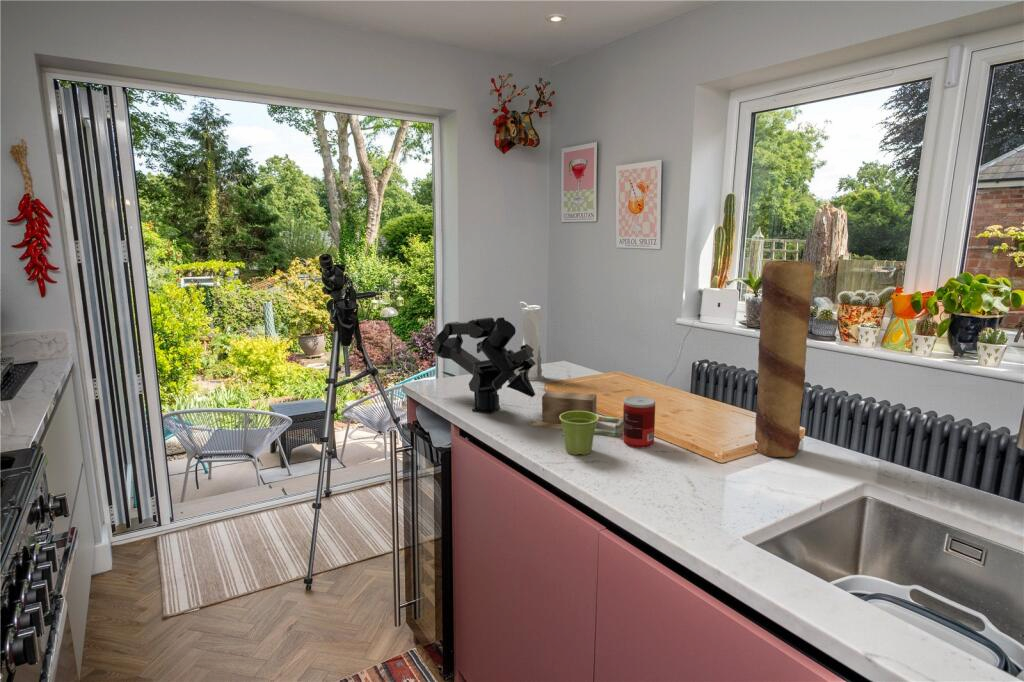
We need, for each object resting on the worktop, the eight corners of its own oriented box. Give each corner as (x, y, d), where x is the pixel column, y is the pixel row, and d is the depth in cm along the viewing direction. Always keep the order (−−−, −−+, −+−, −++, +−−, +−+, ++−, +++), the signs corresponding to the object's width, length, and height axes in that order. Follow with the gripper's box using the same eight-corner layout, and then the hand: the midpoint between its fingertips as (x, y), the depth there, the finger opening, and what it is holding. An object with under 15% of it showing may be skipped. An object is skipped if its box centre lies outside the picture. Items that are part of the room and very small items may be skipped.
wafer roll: (756, 439, 144) (768, 259, 136) (802, 448, 138) (818, 260, 130) (745, 452, 136) (757, 261, 127) (794, 462, 130) (810, 262, 121)
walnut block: (542, 424, 159) (542, 396, 157) (547, 417, 164) (547, 390, 163) (592, 428, 154) (592, 400, 153) (596, 422, 160) (596, 394, 158)
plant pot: (606, 450, 139) (606, 415, 137) (583, 461, 132) (583, 425, 130) (574, 441, 145) (575, 408, 144) (551, 451, 138) (551, 417, 137)
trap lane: (522, 430, 153) (521, 419, 153) (551, 407, 173) (551, 398, 172) (613, 443, 143) (613, 432, 142) (633, 417, 163) (634, 407, 162)
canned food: (651, 437, 147) (652, 396, 145) (656, 448, 139) (657, 405, 137) (621, 436, 148) (622, 395, 146) (624, 448, 140) (625, 404, 138)
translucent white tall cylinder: (518, 380, 205) (517, 303, 200) (521, 375, 213) (520, 300, 208) (541, 381, 204) (541, 303, 199) (544, 375, 212) (543, 300, 207)
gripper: (501, 342, 153) (540, 386, 151) (529, 331, 170) (564, 370, 167) (476, 368, 158) (513, 411, 155) (505, 355, 175) (539, 394, 172)
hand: (533, 395), depth 162 cm, fingers closed
